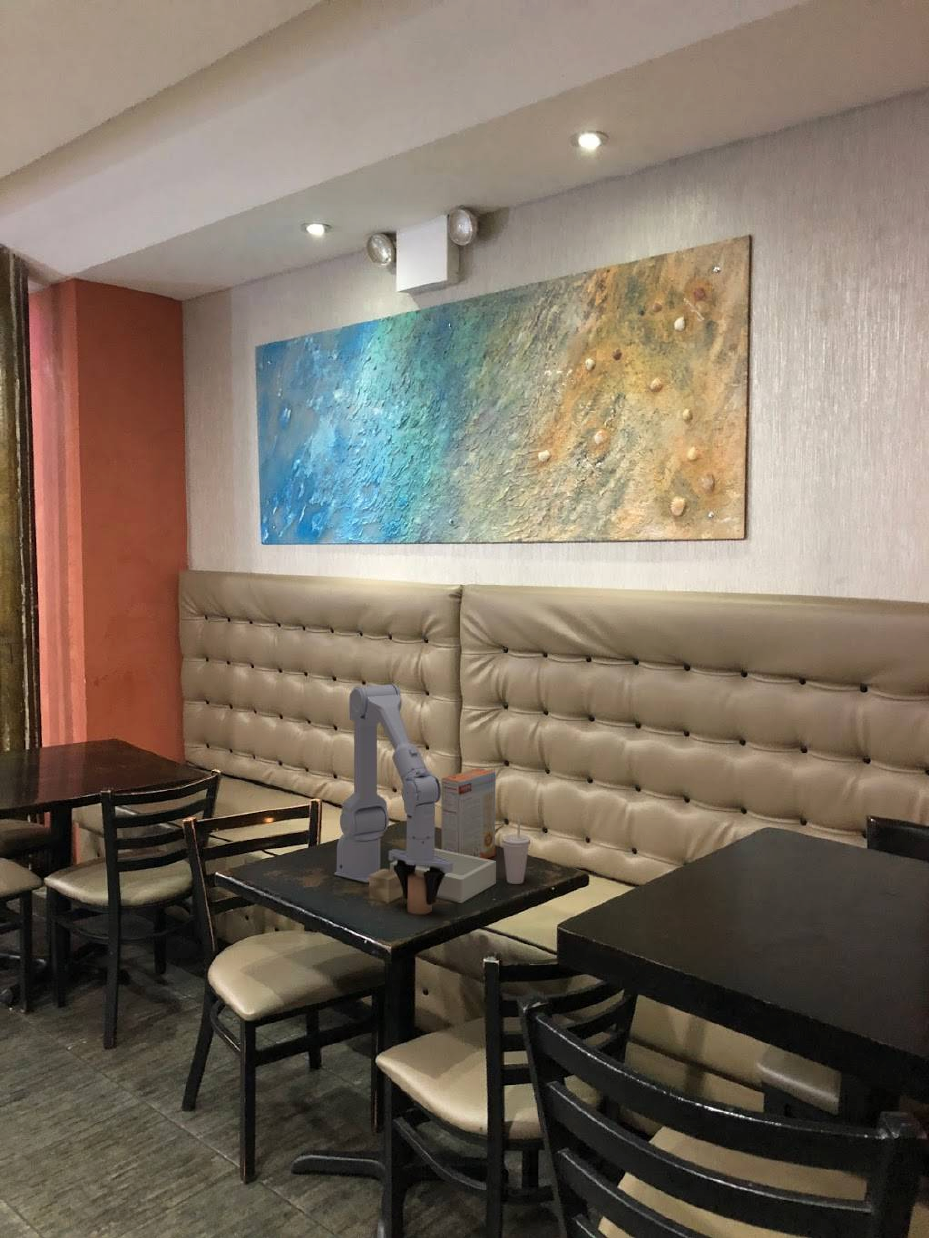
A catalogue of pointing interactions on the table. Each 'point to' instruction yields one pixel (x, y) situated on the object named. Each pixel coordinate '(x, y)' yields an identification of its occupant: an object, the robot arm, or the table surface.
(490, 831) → the cracker box
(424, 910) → the cylinder
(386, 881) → the cube
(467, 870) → the tote
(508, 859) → the smoothie
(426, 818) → the robot arm
